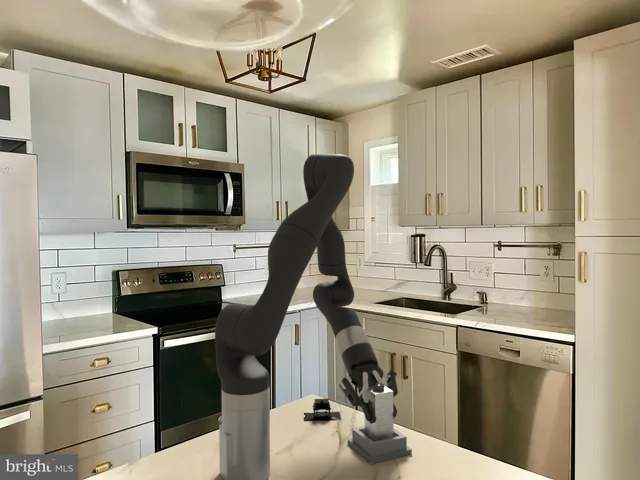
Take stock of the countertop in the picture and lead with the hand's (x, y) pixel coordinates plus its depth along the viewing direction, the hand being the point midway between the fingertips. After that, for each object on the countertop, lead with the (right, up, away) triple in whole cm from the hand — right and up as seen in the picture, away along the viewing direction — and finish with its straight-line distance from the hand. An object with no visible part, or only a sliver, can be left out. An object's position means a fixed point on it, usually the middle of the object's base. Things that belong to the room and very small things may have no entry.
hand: (383, 419), depth 99 cm
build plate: (-13, -8, +19) cm, 25 cm away
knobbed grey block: (-1, -4, +2) cm, 5 cm away
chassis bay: (-1, -7, +2) cm, 7 cm away
